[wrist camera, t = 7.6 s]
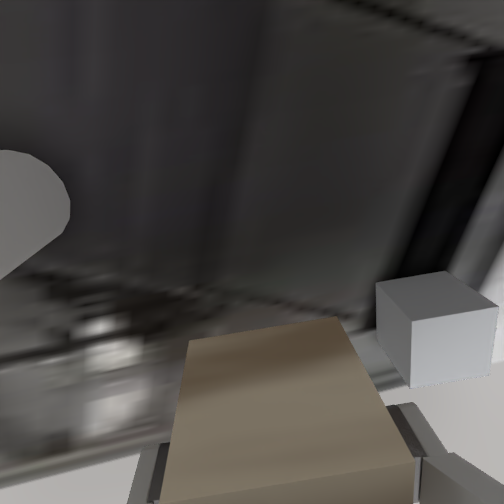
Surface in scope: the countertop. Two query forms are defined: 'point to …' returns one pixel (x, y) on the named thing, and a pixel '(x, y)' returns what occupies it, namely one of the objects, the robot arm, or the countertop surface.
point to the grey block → (435, 328)
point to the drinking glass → (28, 208)
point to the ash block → (283, 423)
